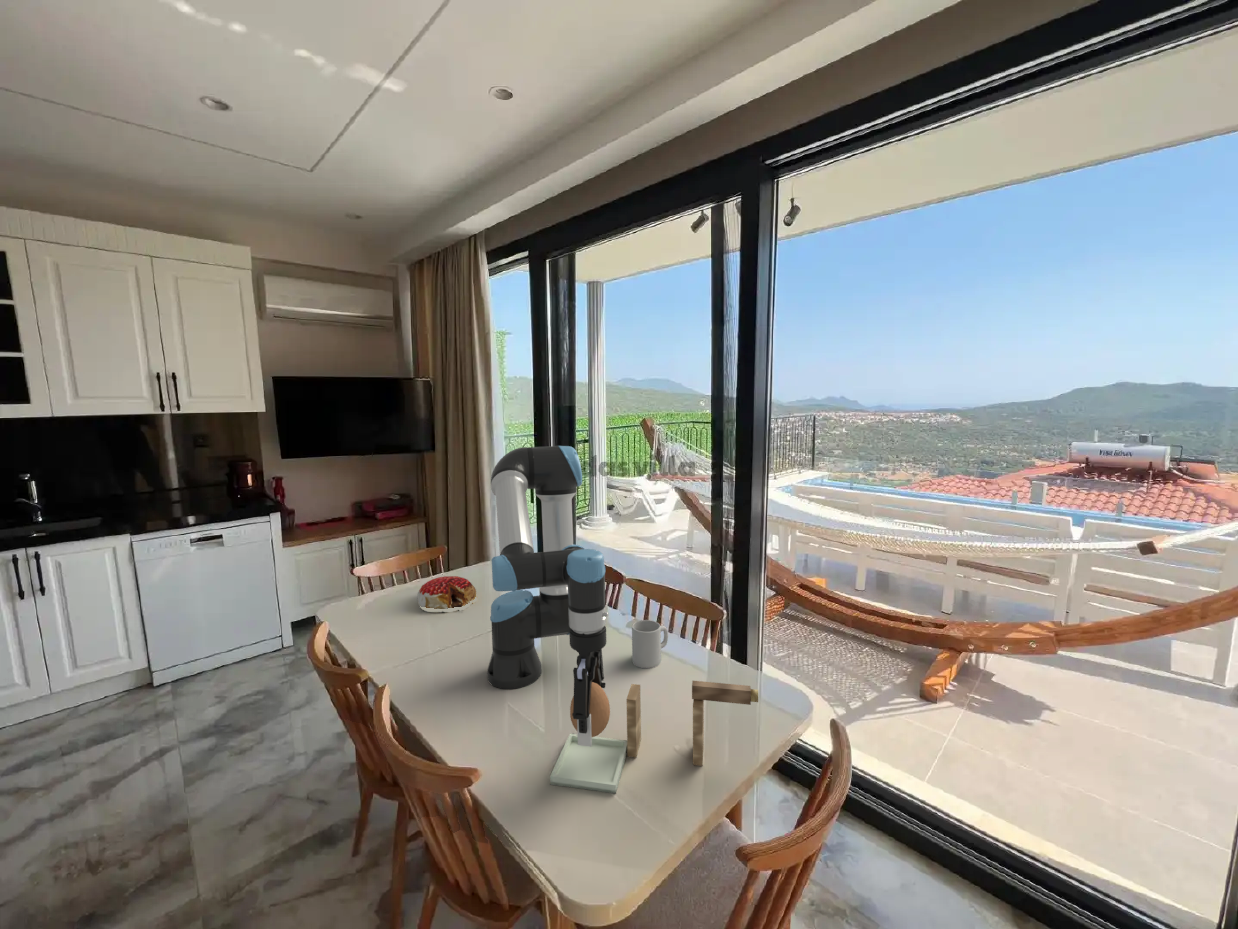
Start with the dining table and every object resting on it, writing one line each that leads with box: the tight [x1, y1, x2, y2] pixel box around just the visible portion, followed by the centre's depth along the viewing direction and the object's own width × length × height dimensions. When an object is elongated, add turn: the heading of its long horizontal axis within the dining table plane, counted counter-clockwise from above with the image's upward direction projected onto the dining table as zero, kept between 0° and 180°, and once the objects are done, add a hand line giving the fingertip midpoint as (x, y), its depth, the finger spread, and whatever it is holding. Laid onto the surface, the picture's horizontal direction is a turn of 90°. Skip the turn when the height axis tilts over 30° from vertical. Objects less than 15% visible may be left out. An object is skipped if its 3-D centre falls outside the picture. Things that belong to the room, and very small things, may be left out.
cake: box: [417, 575, 477, 609], centre depth 196 cm, size 23×24×10 cm
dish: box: [549, 733, 627, 794], centre depth 106 cm, size 13×13×2 cm
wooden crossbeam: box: [691, 680, 759, 706], centre depth 106 cm, size 14×2×3 cm, turn 78°
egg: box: [569, 682, 611, 737], centre depth 105 cm, size 8×8×11 cm
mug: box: [631, 619, 669, 669], centre depth 150 cm, size 12×8×11 cm
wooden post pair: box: [626, 683, 705, 767], centre depth 109 cm, size 16×6×13 cm, turn 78°
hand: (590, 730), depth 105 cm, fingers closed on egg, 8 cm apart
